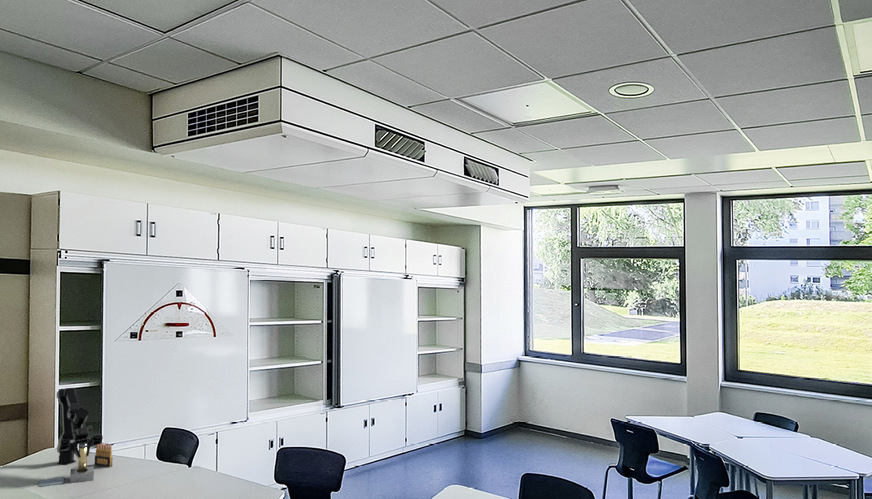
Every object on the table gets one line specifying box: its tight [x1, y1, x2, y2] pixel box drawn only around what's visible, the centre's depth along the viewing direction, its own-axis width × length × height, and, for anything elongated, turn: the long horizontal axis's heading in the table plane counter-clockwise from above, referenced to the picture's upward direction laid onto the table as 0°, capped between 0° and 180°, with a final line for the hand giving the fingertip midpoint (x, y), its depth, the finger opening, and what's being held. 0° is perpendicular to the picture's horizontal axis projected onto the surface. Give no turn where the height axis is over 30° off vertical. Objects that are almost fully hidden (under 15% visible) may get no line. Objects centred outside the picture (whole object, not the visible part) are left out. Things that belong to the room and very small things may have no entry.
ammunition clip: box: [93, 442, 113, 468], centre depth 332 cm, size 11×2×12 cm, turn 70°
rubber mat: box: [38, 476, 65, 488], centre depth 305 cm, size 10×10×1 cm
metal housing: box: [69, 465, 95, 484], centre depth 311 cm, size 10×10×4 cm
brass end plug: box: [77, 443, 88, 472], centre depth 311 cm, size 4×4×13 cm
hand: (83, 456), depth 310 cm, fingers closed on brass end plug, 4 cm apart
